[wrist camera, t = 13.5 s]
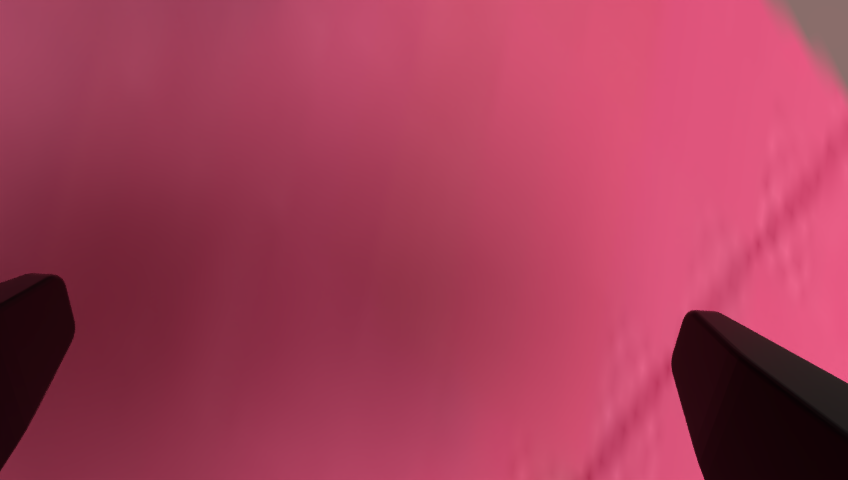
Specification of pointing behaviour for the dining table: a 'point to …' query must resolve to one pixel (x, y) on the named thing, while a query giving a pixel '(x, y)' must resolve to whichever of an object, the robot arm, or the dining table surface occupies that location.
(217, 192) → the dining table surface
